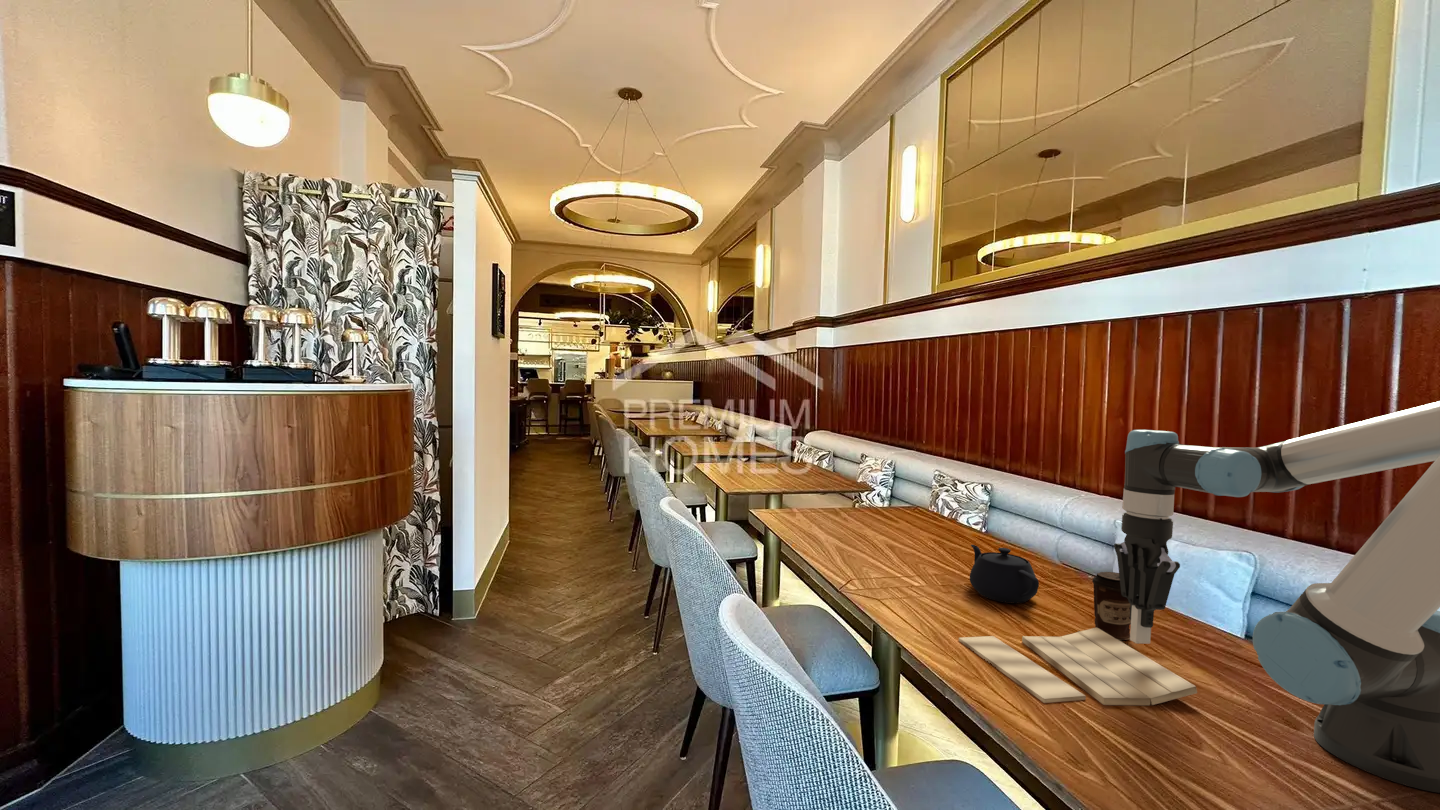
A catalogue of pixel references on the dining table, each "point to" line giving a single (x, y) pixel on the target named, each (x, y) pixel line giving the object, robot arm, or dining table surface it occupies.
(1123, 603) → the coffee cup
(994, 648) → the plank
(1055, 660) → the laid board
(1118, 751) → the dining table surface
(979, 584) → the teapot
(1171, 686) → the plank
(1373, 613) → the robot arm
